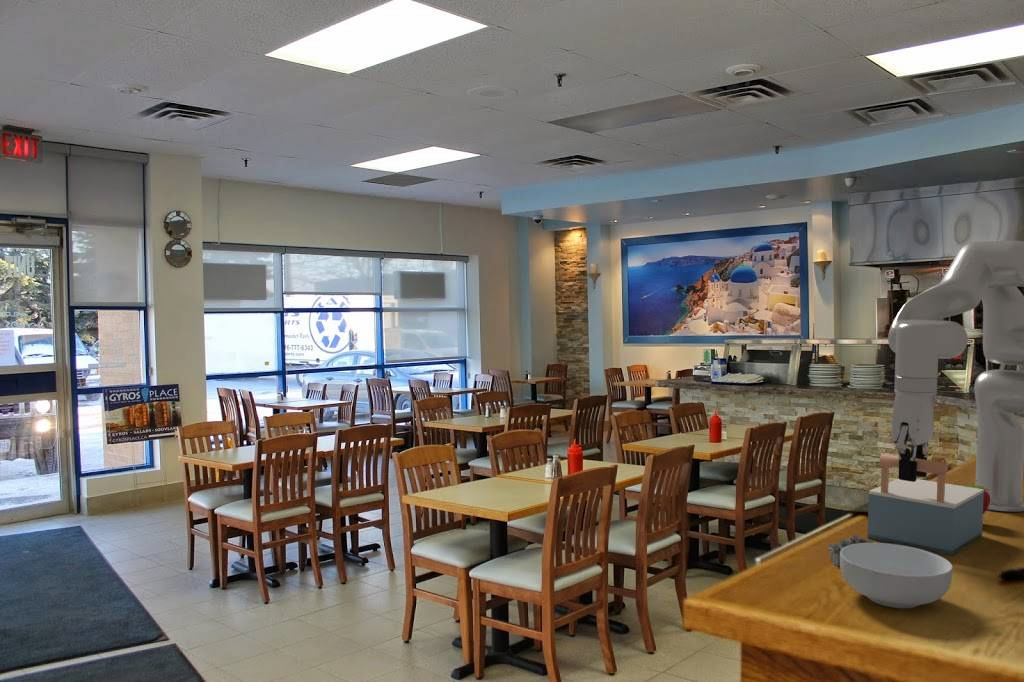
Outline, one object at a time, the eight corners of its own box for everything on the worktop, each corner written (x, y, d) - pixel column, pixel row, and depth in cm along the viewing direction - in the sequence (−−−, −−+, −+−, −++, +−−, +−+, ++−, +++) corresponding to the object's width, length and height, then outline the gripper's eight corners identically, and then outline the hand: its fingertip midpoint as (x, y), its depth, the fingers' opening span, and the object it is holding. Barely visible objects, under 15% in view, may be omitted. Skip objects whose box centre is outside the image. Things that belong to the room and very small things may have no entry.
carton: (901, 520, 187) (902, 479, 186) (981, 535, 176) (983, 492, 175) (867, 537, 174) (868, 494, 174) (951, 555, 163) (953, 508, 162)
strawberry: (993, 522, 186) (995, 476, 185) (983, 529, 180) (985, 482, 179) (963, 517, 190) (965, 472, 189) (953, 524, 184) (955, 478, 183)
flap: (902, 479, 186) (904, 441, 186) (983, 492, 175) (985, 451, 175) (868, 494, 173) (869, 453, 173) (953, 508, 162) (954, 465, 162)
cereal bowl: (896, 626, 129) (898, 580, 129) (816, 590, 145) (817, 549, 144) (975, 609, 136) (977, 566, 136) (891, 576, 151) (892, 537, 151)
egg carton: (860, 574, 153) (861, 552, 153) (823, 563, 159) (823, 541, 159) (892, 562, 160) (893, 541, 159) (855, 552, 166) (855, 531, 165)
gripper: (911, 380, 176) (908, 468, 177) (878, 387, 164) (875, 482, 165) (951, 383, 171) (947, 474, 172) (919, 391, 159) (916, 488, 160)
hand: (912, 477), depth 168 cm, fingers open, 4 cm apart
